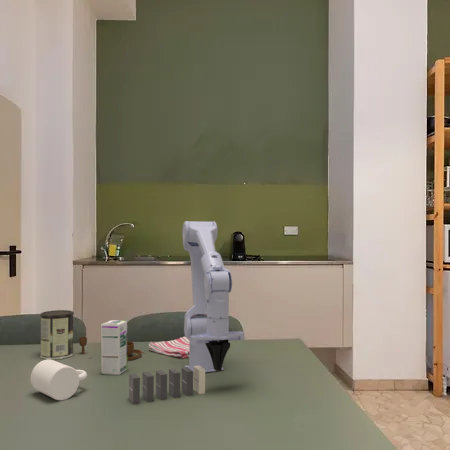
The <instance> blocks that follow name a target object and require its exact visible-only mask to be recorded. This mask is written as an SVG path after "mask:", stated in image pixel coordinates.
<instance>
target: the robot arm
mask: <svg viewBox="0 0 450 450" xmlns="http://www.w3.org/2000/svg"><path fill="white" fill-rule="evenodd" d="M218 233H219V232H218V225H217V222H216V221H215V220H214V221H213V220H212V221H194V220H193V221H188V220H185V221H184V222H183V225H182V246H183V250H185V251H186V252H188V254H189V258H190V259H189V260H190V271H191V288H192V306H191V307H190V308H189V309H188V310H187V311H185V313H184V315H183V316H184V317H183V318H184V322H183V323H184V324H183V333H184V337H187V339H189V357H188V360H189V362H188V363H189V364H187V365H184V367H188V368H190V369H191V370H192V371H193V367H194V366H201V367H202V368H204V369H205V373H211V372H217V371H219V372H220V371H224V367H223V365H224V361H225V358H226V356H227V353H228V351H229V350H230V348H231V342H229V341H237V340H240V341H245V332H244V331H241V330H238V331H229V329H230V327H229V326H230V325H229V323H230V311H229V310H230V303H229V302H230V293H231V291H232V290H233V289H232V288H233V277H232V273H231V271H230V270H229V269H228V268H226V267H225V265H224V261H223V258H222V256H221V253H220V252H218V251H216V246H215V244H216V240H217V238H218Z"/></svg>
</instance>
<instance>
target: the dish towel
mask: <svg viewBox="0 0 450 450" xmlns="http://www.w3.org/2000/svg"><path fill="white" fill-rule="evenodd" d="M148 349H149V351H151V352H153V353H157V354H160V355H165V356H170V357H175V358H180V359H181V360H183V359H186V358H189V339H187V337H186V336H182V337H179V338H176V339H174V340H173V339H172V340H167V341H164V340H163V341H158V342H153V341H150V342H149V343H148Z"/></svg>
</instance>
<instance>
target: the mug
mask: <svg viewBox="0 0 450 450" xmlns="http://www.w3.org/2000/svg"><path fill="white" fill-rule="evenodd" d="M87 373H88V372H86V371H85V370H83V369H75V368H74V367H72V366H70V365H66V364H64V363H61V362H60V361H59V362H58V361H56V360H50V359H43V360H41V361H40V362H38V363H37V364H36V365H35V366H34V367H33V368H32V370H31V373H30V383H31V384H30V385H31V386H32V388H33V389H35V390H36V391H38V392H40V393H42V394H44V395H46V396H48V397H50V398H52V399H54V400H56V401H65V400H68V399H69V398H71V397H72V396H73V395H74V394H75V393H76V391H77V389H78V388H79V385H80V382H81V381H83V380H85V379H86V378H87V377H88V374H87Z"/></svg>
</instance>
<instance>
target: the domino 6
mask: <svg viewBox="0 0 450 450" xmlns="http://www.w3.org/2000/svg"><path fill="white" fill-rule="evenodd" d="M193 391H195V392H196V393H197V394H199V395H202V394H203V395H204V394H206V372H205V369H204V368H202V367H201V366H194V367H193Z"/></svg>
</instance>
